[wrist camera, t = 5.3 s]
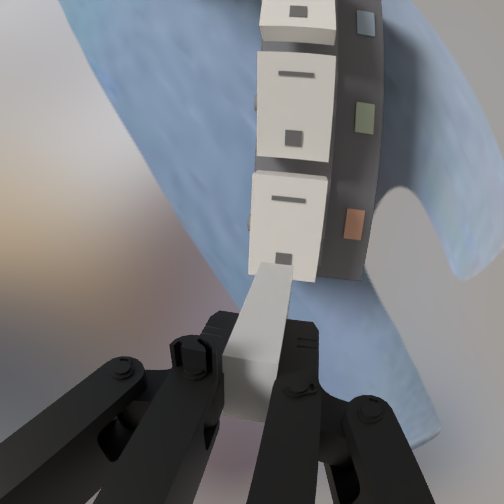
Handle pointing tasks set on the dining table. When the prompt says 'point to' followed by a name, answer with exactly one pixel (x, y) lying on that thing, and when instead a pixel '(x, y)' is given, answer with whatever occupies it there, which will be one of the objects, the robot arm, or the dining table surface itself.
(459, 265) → the dining table surface
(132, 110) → the dining table surface
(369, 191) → the rocker switch panel
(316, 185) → the rocker
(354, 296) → the dining table surface
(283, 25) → the rocker
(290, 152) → the rocker
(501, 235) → the dining table surface
